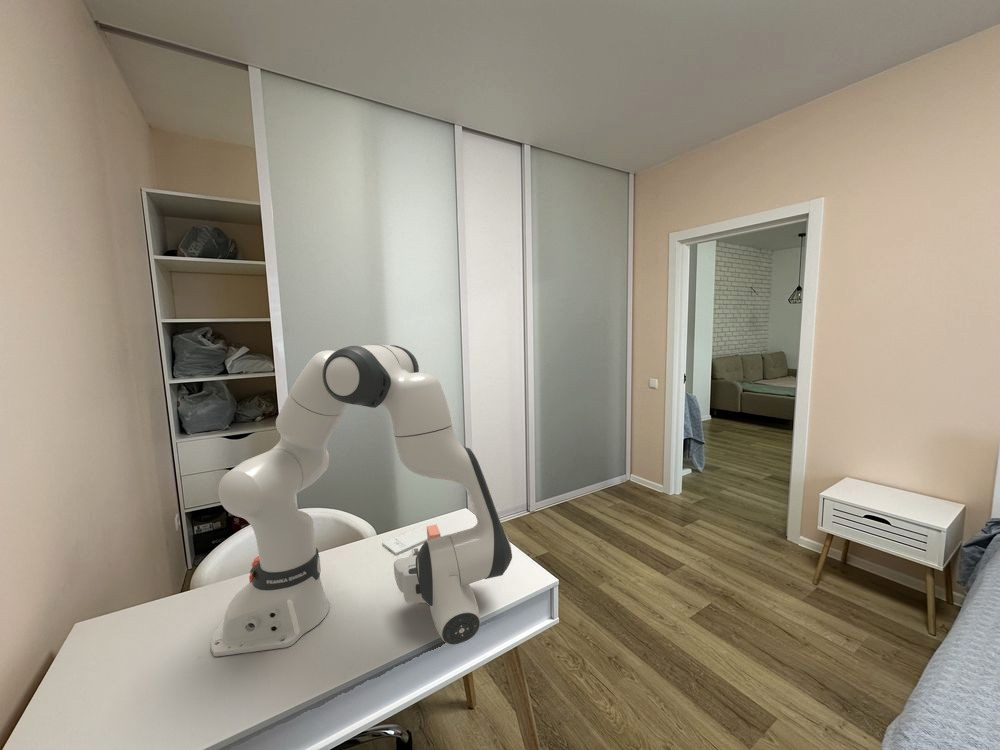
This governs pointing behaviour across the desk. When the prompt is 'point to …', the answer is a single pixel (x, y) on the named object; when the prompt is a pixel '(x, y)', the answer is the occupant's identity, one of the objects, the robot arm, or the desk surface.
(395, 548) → the external hard drive
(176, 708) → the desk surface
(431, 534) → the pink rectangular bar
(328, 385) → the robot arm
